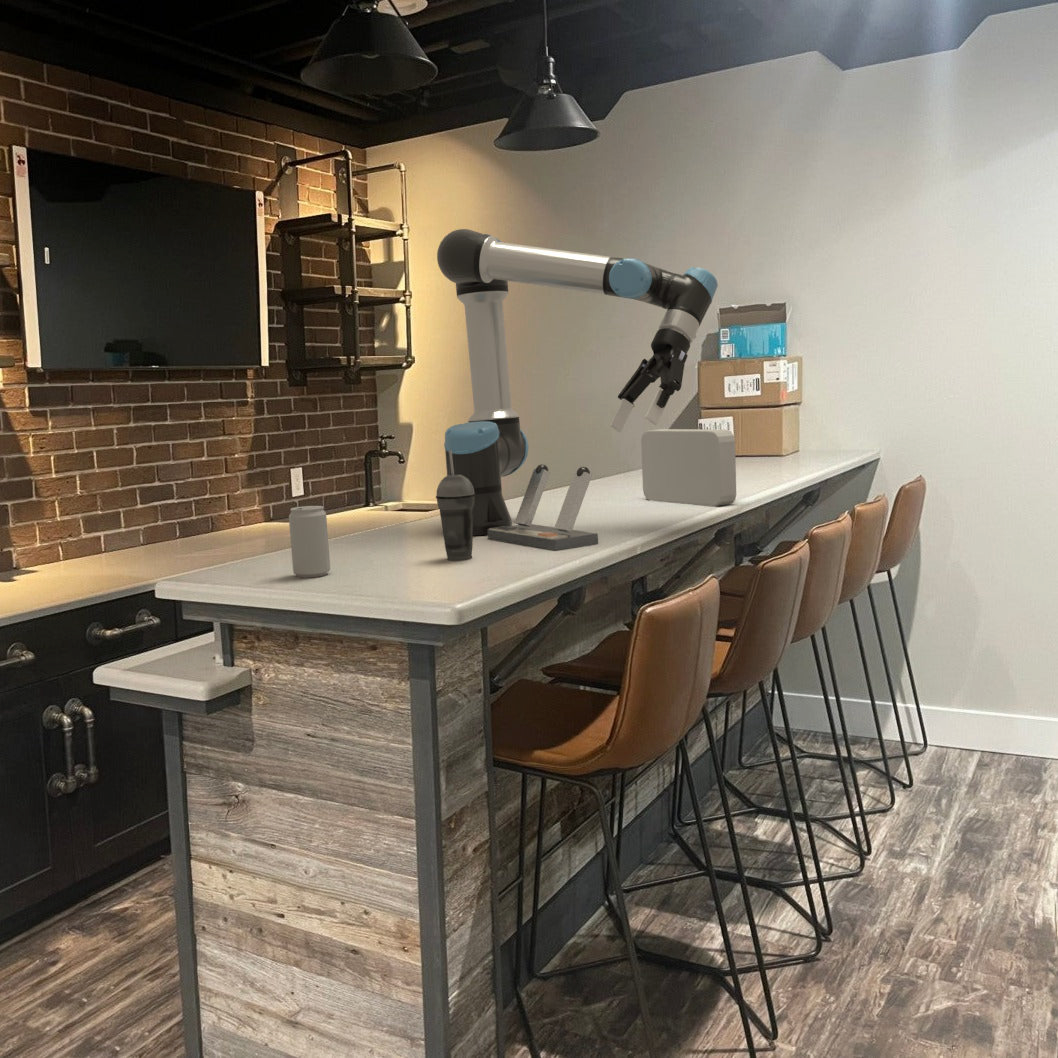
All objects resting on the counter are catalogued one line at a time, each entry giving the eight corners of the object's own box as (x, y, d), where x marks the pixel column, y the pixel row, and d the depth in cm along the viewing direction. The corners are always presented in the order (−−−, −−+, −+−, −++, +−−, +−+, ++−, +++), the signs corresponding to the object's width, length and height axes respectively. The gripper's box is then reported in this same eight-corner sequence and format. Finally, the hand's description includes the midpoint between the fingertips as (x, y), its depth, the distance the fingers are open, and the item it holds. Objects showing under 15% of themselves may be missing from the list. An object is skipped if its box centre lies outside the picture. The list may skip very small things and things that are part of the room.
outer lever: (562, 532, 202) (584, 469, 204) (573, 533, 199) (596, 470, 201) (552, 527, 201) (575, 464, 202) (563, 528, 198) (586, 464, 199)
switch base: (527, 532, 218) (527, 520, 218) (598, 543, 199) (597, 530, 198) (487, 538, 213) (486, 526, 212) (555, 550, 193) (554, 536, 193)
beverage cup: (449, 563, 185) (441, 452, 182) (433, 558, 192) (426, 450, 189) (485, 558, 188) (479, 448, 186) (469, 553, 195) (462, 447, 192)
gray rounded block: (744, 504, 248) (742, 428, 246) (720, 507, 244) (718, 431, 242) (665, 497, 272) (663, 428, 270) (643, 500, 268) (640, 430, 265)
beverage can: (296, 573, 184) (290, 506, 182) (332, 570, 184) (327, 503, 183) (291, 579, 177) (285, 510, 176) (329, 577, 178) (323, 508, 176)
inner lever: (522, 526, 214) (543, 467, 215) (532, 527, 211) (554, 467, 212) (512, 521, 212) (534, 462, 214) (522, 523, 209) (544, 462, 211)
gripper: (724, 335, 203) (681, 427, 198) (655, 357, 225) (615, 440, 220) (696, 314, 200) (652, 407, 195) (629, 338, 223) (588, 422, 218)
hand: (632, 425), depth 208 cm, fingers open, 13 cm apart
